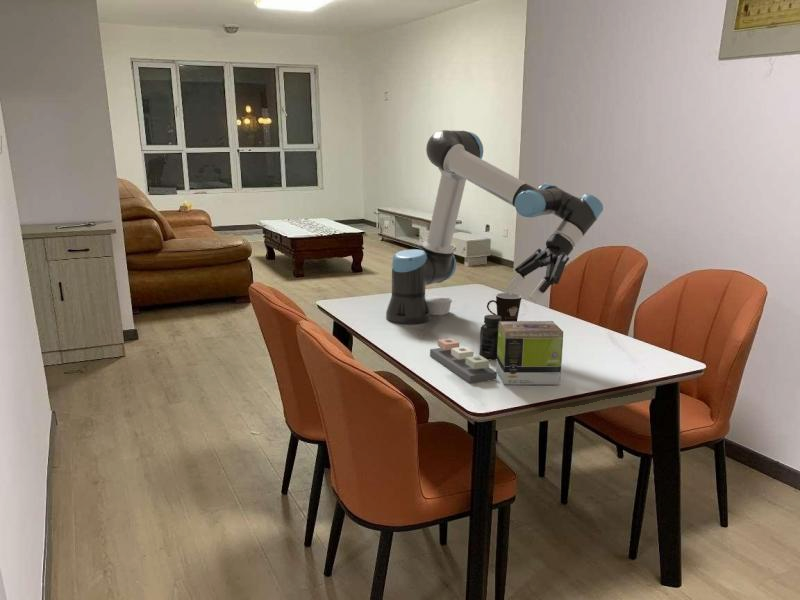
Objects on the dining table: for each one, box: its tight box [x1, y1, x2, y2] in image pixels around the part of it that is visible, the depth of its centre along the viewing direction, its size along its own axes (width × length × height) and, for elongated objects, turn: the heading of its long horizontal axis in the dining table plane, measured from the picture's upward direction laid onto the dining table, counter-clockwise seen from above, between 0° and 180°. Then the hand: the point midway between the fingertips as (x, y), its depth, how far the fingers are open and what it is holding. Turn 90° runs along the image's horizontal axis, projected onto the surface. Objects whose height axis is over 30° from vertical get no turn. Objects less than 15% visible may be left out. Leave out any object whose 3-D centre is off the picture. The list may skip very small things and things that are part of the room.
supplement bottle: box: [478, 314, 501, 361], centre depth 183 cm, size 7×7×12 cm
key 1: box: [437, 337, 460, 351], centre depth 181 cm, size 4×4×2 cm
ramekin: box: [425, 294, 453, 316], centre depth 230 cm, size 11×11×5 cm
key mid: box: [451, 346, 475, 359], centre depth 174 cm, size 4×4×2 cm
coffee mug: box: [486, 292, 522, 321], centre depth 217 cm, size 12×9×10 cm
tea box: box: [496, 320, 564, 386], centre depth 166 cm, size 15×10×15 cm
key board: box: [429, 347, 498, 384], centre depth 175 cm, size 23×8×2 cm, turn 24°
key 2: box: [465, 354, 490, 369], centre depth 167 cm, size 4×4×2 cm
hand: (519, 296), depth 184 cm, fingers open, 13 cm apart
